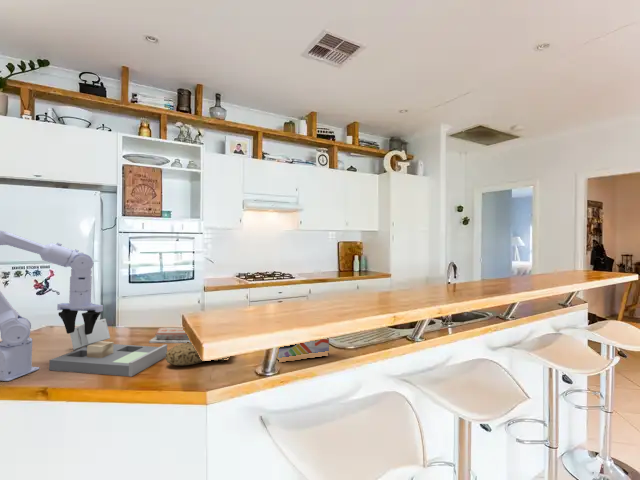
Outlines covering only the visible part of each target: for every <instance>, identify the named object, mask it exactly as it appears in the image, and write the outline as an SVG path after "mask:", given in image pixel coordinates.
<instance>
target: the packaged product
mask: <svg viewBox="0 0 640 480" xmlns="http://www.w3.org/2000/svg"><path fill="white" fill-rule="evenodd" d="M183 328H184V327H159V328H158V329H157V331H156V333H155V336H154V337H152V338H151V339H149V340H148V344H149V343H150V344H190V343H191V342H190V340H189V338H188V336H187V334H186V333H185V331H184V330H183ZM187 342H189V343H187Z"/></svg>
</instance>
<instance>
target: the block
mask: <svg viewBox="0 0 640 480" xmlns="http://www.w3.org/2000/svg"><path fill="white" fill-rule="evenodd" d="M113 344H115V342H114V341H105V340H104V341H99V342H96V343H93V344H91V345H88V346H87V357H94V358H103V357H105V356H107V355H110V354H112V353H113Z"/></svg>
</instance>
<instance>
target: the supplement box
mask: <svg viewBox="0 0 640 480" xmlns="http://www.w3.org/2000/svg"><path fill="white" fill-rule="evenodd" d="M69 335H70V339H71V344H72V349H73V350H74V351H75V350H78V349H81V348H83V347H86V346H88V345H91V344H93V343H96V342H99V341H104V342H105V341H107V340H109V339H111V334H110V330H109V327H108V323H107V319H106V318H102V319H97V320H96V322H95V325H94V328H93V331H92V333H91V334H88V335H85V325H84V323H82V324H80V325H78V326H75V330H74V332H73V333H69Z"/></svg>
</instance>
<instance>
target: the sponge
mask: <svg viewBox="0 0 640 480" xmlns="http://www.w3.org/2000/svg"><path fill="white" fill-rule="evenodd" d="M227 358H230V359H231V357H227ZM227 358H222V359H218V360H224V359H227ZM218 360H214V361H213V362H219V361H218ZM165 361H166V362H167V363H168V364H170V365H173V366H191V365H196V364H200V363H203V362H204V361H202V360H201V359H200V357H199V355H198V353H197V351H196V350H195V348H194V346H193V345H192V343H180V344H177V345H175V346H173V347H171V348H170V349H168V350H167V353H166V357H165Z"/></svg>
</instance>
